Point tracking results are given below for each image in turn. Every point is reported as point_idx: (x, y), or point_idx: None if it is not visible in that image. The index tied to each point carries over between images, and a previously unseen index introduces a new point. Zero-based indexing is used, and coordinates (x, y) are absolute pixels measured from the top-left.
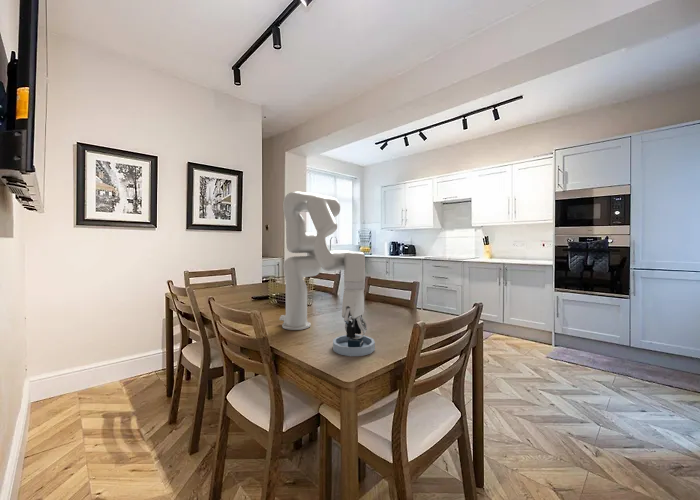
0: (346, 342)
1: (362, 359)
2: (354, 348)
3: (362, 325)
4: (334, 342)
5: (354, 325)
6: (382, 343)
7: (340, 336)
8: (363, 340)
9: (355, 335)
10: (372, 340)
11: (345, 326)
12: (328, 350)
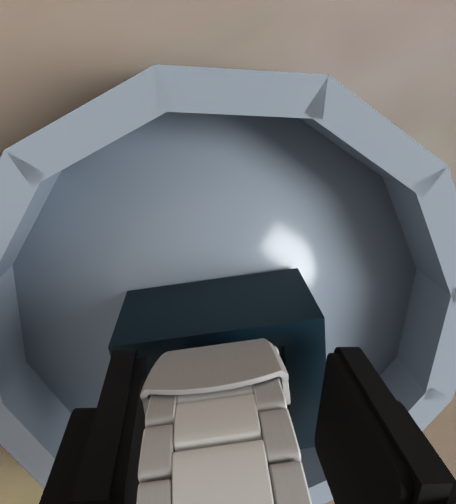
0: (313, 192)
1: (8, 461)
2: (3, 443)
3: None
4: (38, 153)
5: (373, 474)
6: (441, 453)
7: (341, 110)
8: (406, 347)
9: (322, 361)
10: (321, 492)
11: (152, 412)
12: (22, 71)
